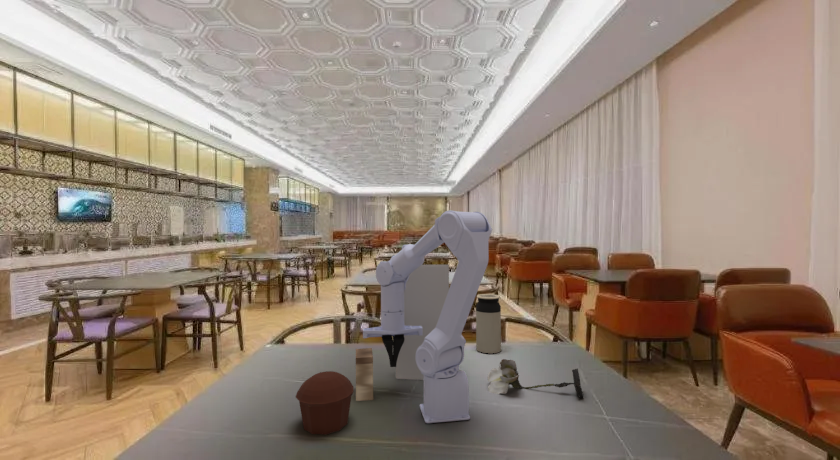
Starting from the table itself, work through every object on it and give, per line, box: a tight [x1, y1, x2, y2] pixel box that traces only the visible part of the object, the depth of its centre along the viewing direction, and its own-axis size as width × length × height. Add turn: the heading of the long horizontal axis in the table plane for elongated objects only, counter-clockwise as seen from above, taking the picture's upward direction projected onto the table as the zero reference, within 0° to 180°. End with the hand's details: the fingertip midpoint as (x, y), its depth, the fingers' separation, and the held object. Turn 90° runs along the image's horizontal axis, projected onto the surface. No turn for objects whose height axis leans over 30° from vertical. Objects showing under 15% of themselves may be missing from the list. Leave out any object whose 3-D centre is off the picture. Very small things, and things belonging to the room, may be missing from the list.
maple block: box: [355, 347, 374, 402], centre depth 92 cm, size 4×7×10 cm, turn 9°
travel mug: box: [475, 293, 502, 355], centre depth 126 cm, size 8×8×18 cm
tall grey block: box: [395, 264, 450, 381], centre depth 104 cm, size 14×6×30 cm, turn 84°
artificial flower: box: [487, 358, 584, 399], centre depth 93 cm, size 9×22×10 cm, turn 72°
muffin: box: [295, 370, 355, 435], centre depth 78 cm, size 12×11×10 cm
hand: (393, 365), depth 93 cm, fingers closed
